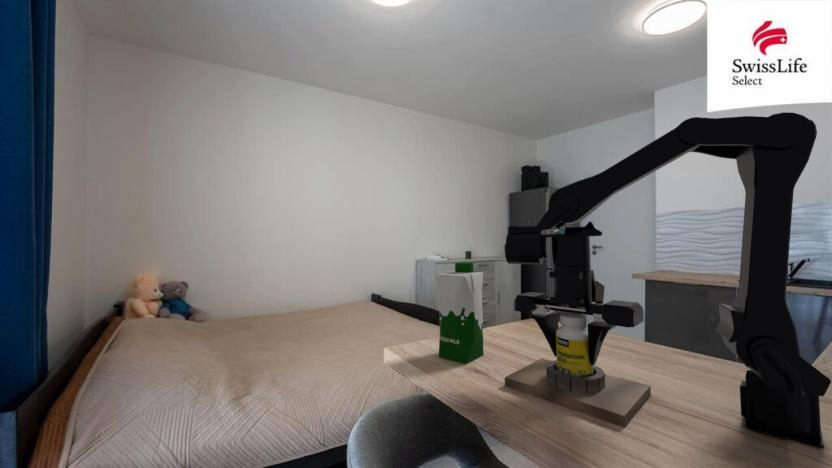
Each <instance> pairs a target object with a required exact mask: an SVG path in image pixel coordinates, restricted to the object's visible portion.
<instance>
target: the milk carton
mask: <svg viewBox="0 0 832 468" xmlns="http://www.w3.org/2000/svg"><path fill="white" fill-rule="evenodd" d="M434 276H435V279H436V281H435V282H436V284H437V291H438V298H439V299H438V301H439V303H438V305H439V307H438V308H439V309H438V310H439V342H438V358H441V359H444V360H449V361H452V362H456V363H459V364H460V363H461V364H464V365H467V364H469V363H471V362H473V361H475V360H477V359H479V358H481V357H482V356H484V352H485V351H484V327H483V325H484V323H483V322H484V321H483V319H484V318H483V317H484V316H483V282H484V272H483V271H481V272H479V271H474V262H467V261H465V262H463V261H462V262H455V263H454V270H453V271H451V270H450V271H443V272H440V273H439V272H438V273H435V274H434Z"/></svg>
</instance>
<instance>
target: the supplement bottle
mask: <svg viewBox="0 0 832 468" xmlns="http://www.w3.org/2000/svg"><path fill="white" fill-rule="evenodd" d="M559 322H560V325H561V326H558V327H559V328H558V329H557V331H556V350H557V357H556V360H557V372H559V373H562V374H565V375H569V376H576V377H589V376H593V365H591V364H590V359H589V346H588V328H586V327H588V319H587V315H585V314H578V313H570V312H564V313H560V317H559Z"/></svg>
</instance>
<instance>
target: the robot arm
mask: <svg viewBox="0 0 832 468" xmlns="http://www.w3.org/2000/svg"><path fill="white" fill-rule="evenodd" d="M817 135H818V131H817V125H816V124H815V121H814V120H812V119H809V118H808V117H806V116H805V115H803V114H800V113H797V112H780V113H774V114H772V115H769V116H756V115H755V116H754V115H752V116H749V115H746V116H745V115H744V116H743V115H742V116H730V117H718V118H717V117H716V118H715V117H714V118H713V117H697V116H696V117H695V116H694V117H690V118H689V117H688V118H687V119H685V120H683V121H682V122H680V123H679V124H678V125H677V126H676V127H675V128H673V129H671V130H670V131H668V132H666V133H664V134H663V135H661V136H660V137H658V138H657V139H655V140H653V141H651V142H650V143H647V144H646V145H645V146H643V147H642V148H640V149H638V150H637V151H635V152H633V153H632V154H629V155H628V156H627V157H625V158H623V159H621V160H620V161H618V162H616V163H615V164H613V165H611V166H610V167H608V168H606V169H605V170H603V171H602V172H600V173H597V174H595V175H592V176H589V177H587V178H584V179H583V178H582V179H580V180H577V181H574V182H573V183H569V184H567V185H565V186H563V187H560V188H558V189H556V190H555V191H554V192H553V193H552V194H551V195H550V197H549V199H548V203H547V205H548V209H547V210H546V212H545V214H544V215H543V216H542V218H541V219H540V220H539V221H538V223H537V224H536V225H535V226H534V225H531V226H517V225H509V226H508V227H507V231H508V232H507V235H506V238H505V244H504V256H505V260H506V262H507V264H508V265H542V264H543V263H544V259H549V257H550V238H551V257H552V270H550V271H548V272H549V273H548V274H549V278H550V279H551V278H552V286H553V288H552V289H553V290H552V291H553V295H551V296H549V295H548V294H547V293H544V292H534V291H529V292H524V293H520V294H517V295H515V298H514V300H513V310H514V312H520V313H528V314H529V318H530V319H533V320H534V321H535V322H536V324H537V325H538V327H539V329H540V330H541V332H542V334H543V335H544V337H545V339H546V342H547V343H548V346H549V348H550V350H551V351H552V354H553V355H554V357H556V358H557V350H556V331H557V329H558V328H559V327H560V326H559V322H560V315H561V312H564V313H575V314H581V315H585V316H592V318H593V321H590V322H589V323H587V329H588V346H589V359H590V364H591V365H596V363H597V361H598V358H599V354H600V352H601V349H602V347H603V343H604V340H605V339H606V337H607V335H608V334H609V332H610V330H612V329H615V328H617V327H622V328H635V327H636V326H638V325H640V324H642V323H643V322H644V321H645V314H644V313H645V312H644V308H643V306H642V305H641V304H640V303H639V302H636V301H628V300H627V301H626V300H624V301H623V300H616V299H615V300H614V299H613V300H611V301H608V302H605V303H604V298H605V285H604V284H602V282H599V281H598V280H596V279H595V273H594V269H592V268H591V267H592V266H591V246H590V245H591V242H590V241H591V239H590V237H601V236H602V235H603V232H602V231H601V230H599V229H598V228H597V227H596V226H595V224H594V223H593V222H592V221H588V222H587V224H586V225H584V226H567V227H565V230H564V233H554V234H553V233H549V234H548V233H547V231H558V230H560V229H561V228H562V227H564V226H565V225H574V224H578V223H580V222H581V221H582V222H583V220H585V219H586V218H587V217H589V216H590V215H591V214H592V213H593V212H595V211H596V210H598V209H599V207H601V206H602V205H603V204H604V203H605V202H607V201H608V200H609V199H610V198H611V197H613V196H614V195H615V194H617V193H619V192H621V191H623V190H624V189H627V188H628V187H629V186H632V185H633V184H635V183H636V182H638V181H640V180H642V179H643V178H645V177H647V176H649V175H651V174H653V173H655V172H656V171H658V170H660V169H661V168H663V167H665V166H667V165H668V164H671V163H672V162H673V161H676V160H677V159H680V158H681V157H683V156H685V155H687V154H688V153H697V154H702V155H707V156H712V157H716V158H719V159H722V158H723V159H730V160H735V161H736V167H737V172H738V174H739V177H740V179H741V182H742V185H743V187H744V191H745V199H744V208H743V209H744V210H743V211H744V212H743V222H742V223H743V225H742V239H741V252H740V253H741V254H740V267H739V268H740V269H739V280H738V284H739V285H738V290H737V291H738V292H737V294H736V297H735V298H734V300H733V302H732V304H731V305H730V304H725V303H719V304H718V311H719V322H718V324H717V326H716V328H715V331H716V332H717V333H719V335H721V337H722V338H721V339H722V341H723V344H725V346H726V347H727V348H728V349H729V350H730V351H731V352H732V353H733V354H734V355H735V356H736V357H737V358H738V359H739V360H741V362H743V364H744V366H745V367H746V368H748V369H747V370H746V373H745V377H744V378H745V380H741V382H740V385H739V398H740V399H739V401H740V416H741V417H742V418H743V419H745V422H744V424H745V427H746V428H747V429H749V430H753V431H757V432H760V433H762V434H763V433H765V434H767V435H770V436H774V437H777V438H778V437H779V438H782V439H784V440H790V441H792V442H796V443H799V444H803V445H807V446H810V447H813V448H818V449H825V442H824V438H823V432H822V425H821V405H820V403H821V402H820V397H824V396H825V395H826V392H827V391H828V389H829V387H830V385H831V383H832V381H831V378H829V377H828V376H826V375H825V374H824V373H823V372H821V371H820V370H819V369H817V368H816V367H815V366H814V365H812V364H810V363H809V361H807V360H805V359H804V358H802V357H801V351H800V346H799V339H798V333H797V328H796V325H795V322H794V319H793V317H792V315H791V311H790V308H789V307H788V304H787V299H786V297H787V283H788V269H789V256H790V245H791V244H790V243H791V242H790V241H791V231H792V230H791V229H792V228H791V227H792V218H793V217H792V216H793V203H794V201H793V200H794V190H795V186H796V185H797V182H798V181H799V179H800V177H801V176H802V174H803V172H804V171H805V168H806V166H807V164H808V163H809V160H810V156H811V155H812V151H813V148H814V144H815V142H816V140H817ZM530 313H531V314H530Z"/></svg>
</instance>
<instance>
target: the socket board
mask: <svg viewBox="0 0 832 468" xmlns="http://www.w3.org/2000/svg"><path fill="white" fill-rule="evenodd" d="M504 387H506V388H509V389H510V390H511V389H512V390H515V391H518V392H519V393H520V392H521V393H523V394H526V395H529V396H532V397H535V398H539V399H541V400H545V401H547V402H549V403H552V404H555V405H559V406H562V407H565V408H567V409H571V410H573V411H576V412H578V413H582V414H584V415H588V416H590V417H593V418H596V419H599V420H602V421H605V422H607V423H611V424H614V425H616V426H619V427H623V428H626V426H627V425H628V424H629V423H630V422H631V420H632V419H633V418H634V417H635V416H636V415H637V413H638V412H639V411H640V409H641V408H642V407H643V406H644V404H645V403H646V402H647V401H648V399H650V397H651V396H652V391H651V390H652V389H651V388H652V386H651V385H650V384H649V385H648V384H645V383H641V382H637V381H634V380H629V379H625V378H620V377H617V376H613V375H610V374H605V372H604V370H603V369H602V368H601V367H598V366H597V365H596V364H594V365H593V376H589V377H576V376H569V375H565V374H562V373H559V372H557V359H556V360H551V359H550V360H549V359H546V358H540V359H538V360H536V361H534V362H532V363H530V364H527V365H526V366H524V367H522V368H520V369H518V370H516V371H515V372H512V373H510V374H508V375H507V376H505V377H504Z"/></svg>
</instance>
